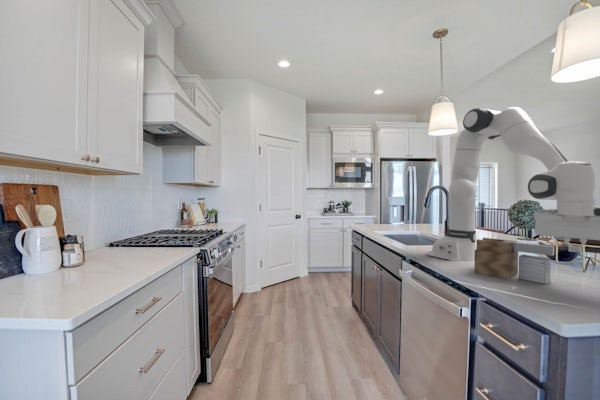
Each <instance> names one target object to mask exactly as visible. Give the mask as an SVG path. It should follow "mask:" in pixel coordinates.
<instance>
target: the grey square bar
mask: <svg viewBox="0 0 600 400" xmlns="http://www.w3.org/2000/svg"><path fill="white" fill-rule="evenodd" d="M511 241H512V240H510V241H503V242H506V243H512V251H518V253H519V252H521V253H525V254H526V253H529V254H535V255H542V256H543V255H544V256H549V257H550V256H552V257H553V256H554V255H555V245H548V244H547V245H546V244H538V243H537V244H536V243H528V242H519V241H517V242H511Z"/></svg>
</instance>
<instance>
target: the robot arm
mask: <svg viewBox="0 0 600 400" xmlns="http://www.w3.org/2000/svg"><path fill="white" fill-rule="evenodd" d="M462 125H463V128H464V129H462V131H461V132H460V133H459V135H458V137H457V142H456V145H455V150H454V158H453V165H452V172H451V182H450V185H449V187H448V228H447V229H445V230H444V231H443V234H444V236H443V237H441V238H439V239H438V240H436V241H435V242H434V243H433V244H432V249H431V250H430V251H427V254H426V255H427V256H431V257H435V258H440V259H443V260H444V259H445V260H449V261H452V262H453V261H454V262H475V250H476V243H477V230H476V205H477V203H476V200H477V195H476V194H477V182H478V175H479V171H480V165H481V157H482V154H483V153H482V152H483V145H484V142H485V141H486V140H487V139H488V140H493V139H496V138H499V137H500V139H501V140H502V142H503V144H504V146H505V147H506V148H507V149H508V150H509V151H511V152H513V153H517V154H521V155H525V156H529V157H532V158H534V159H537V160H538V161H540V162H541V163H542V165H544V167H545V168H546V169H547V171H545V172H541V173H539V174H535V175H533V176H532V177H531V178H530V180H528V183H527V191H528V194H529V195H530V196H531V197H532V198H534V199H537V200H543V201H545V200H546V201H556V209H553V208H552V209H551V208H550V209H544V208H541V209H539V210H536V211H535V212H534V213H533V219H534V221H535V224H534V232H533V233H534V234H536V236H543V237H553V238H554V237H555V238H563V242H564V243H565V244H566V245H567V247H568V252H572V253H580V254H581V253H582V252H583V251H582V249H583V247H584V246H585V244H586V243H587V242H588V240H593V241H600V205H596V199H595V196H594V191H595V189H596V175H595V173H596V172H595V169H594V166H593V165H592V164H591V163H589V162H588V161H571V160H570V161H569V160H568V159H567V158H566V157H565V156H564V155H563V154H562V152H561V151H560V149H559V148H558V147H557V146H555V144H554V143H552V142H551V141H550V140H549V139H548V138H546V136H545V135H543V134H542V133H541V131H539V129H538V128H537V126H536V125H535V123H534V121H532V119H531V118H530V117H529V115H528V114H527V113H526V112H525V111H524V110H523V109H522V108H520V107H518V106H517V107H516V106H512V107H508V108H505V109H503V110H501V111H499V110H496V109H488V108H481V107H477V108H472V109H470V110H469V111H468V112H467V113H466V114H465V115H464V117H463V120H462ZM571 239H579V243H581V244H580V245H579V246H576V245H573V244H571V242H570V241H572V240H571Z"/></svg>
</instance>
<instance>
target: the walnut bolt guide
mask: <svg viewBox="0 0 600 400" xmlns="http://www.w3.org/2000/svg"><path fill="white" fill-rule="evenodd" d="M503 241H511V242H518V241H517V240H509V239H500V238H491V237H490V238H489V237H482V239H479V238H478V239H477V238H476V242H475V243H476V250H475V261H474V274H478V275H484V276H488V277H493V278H498V279H499V278H500V279H505V280H508V281H509V280H511V279H512V278H513V277H515V276H517V275H519V252H518V251H512V243H506V242H503Z"/></svg>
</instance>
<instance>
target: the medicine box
mask: <svg viewBox="0 0 600 400" xmlns="http://www.w3.org/2000/svg"><path fill="white" fill-rule="evenodd" d="M551 262H552V260H551V258H550V257H545V256H537V255H530V254H526V253H525V254H524V253H523V254H521V255H518V279H519V280H524V281H528V282H529V281H530V282H534V283H539V284H543V285H548V284H549V283H551V282H552V281H551V275H552V274H551V268H552V267H551V265H552V264H551Z"/></svg>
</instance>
